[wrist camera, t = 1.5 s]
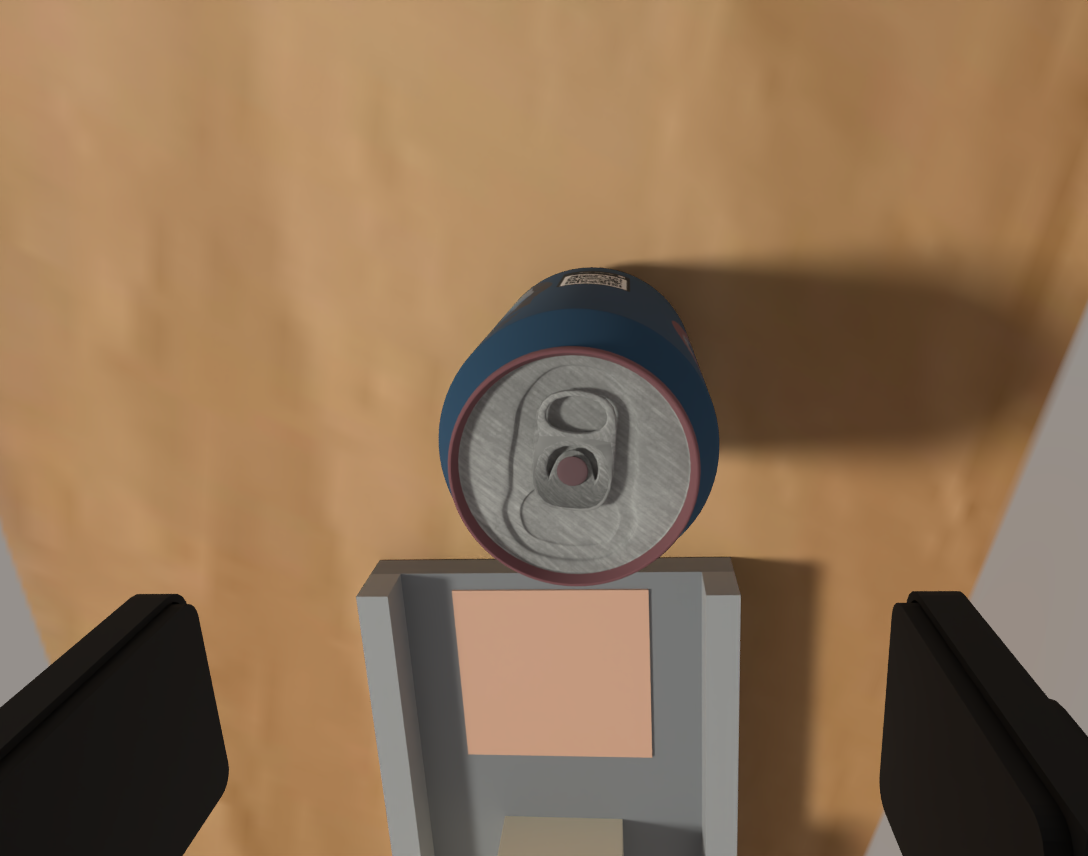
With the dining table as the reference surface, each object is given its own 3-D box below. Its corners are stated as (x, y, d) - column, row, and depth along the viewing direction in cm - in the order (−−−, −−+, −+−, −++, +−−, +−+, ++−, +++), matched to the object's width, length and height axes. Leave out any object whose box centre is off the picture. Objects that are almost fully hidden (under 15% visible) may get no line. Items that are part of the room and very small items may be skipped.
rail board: (379, 560, 33) (289, 699, 24) (730, 557, 31) (770, 704, 23) (419, 873, 38) (356, 1084, 29) (727, 883, 36) (759, 1110, 27)
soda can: (678, 457, 30) (709, 625, 19) (495, 441, 31) (418, 595, 19) (699, 270, 28) (749, 333, 17) (503, 256, 29) (422, 309, 17)
